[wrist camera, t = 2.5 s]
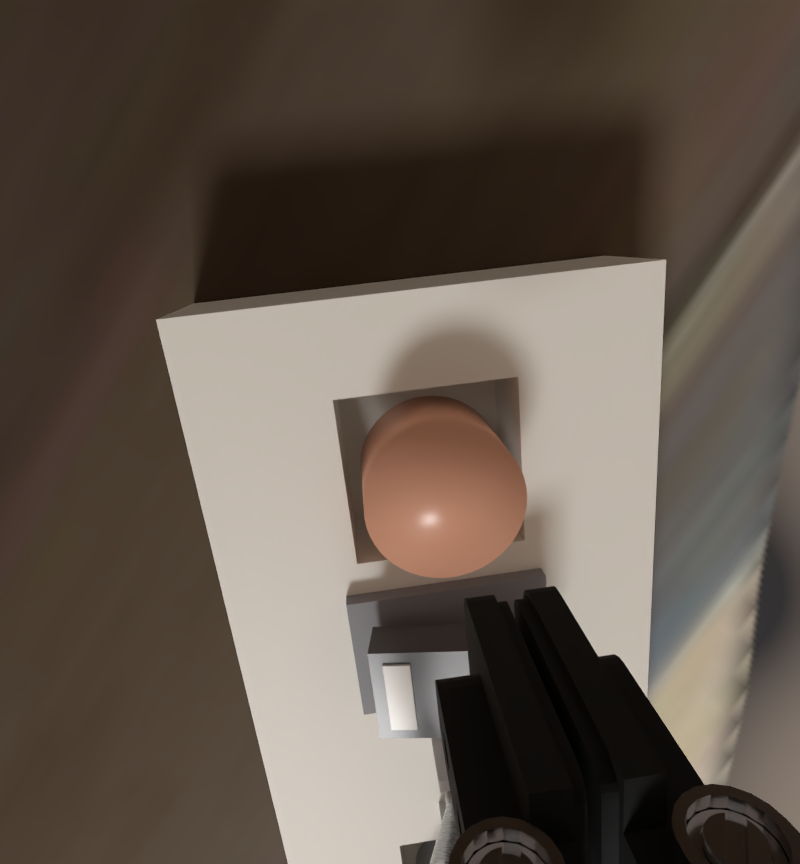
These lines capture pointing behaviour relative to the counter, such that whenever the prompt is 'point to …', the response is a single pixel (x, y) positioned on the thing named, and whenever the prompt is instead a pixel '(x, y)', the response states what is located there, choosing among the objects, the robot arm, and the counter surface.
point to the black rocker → (413, 675)
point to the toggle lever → (445, 834)
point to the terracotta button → (440, 488)
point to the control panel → (344, 511)
